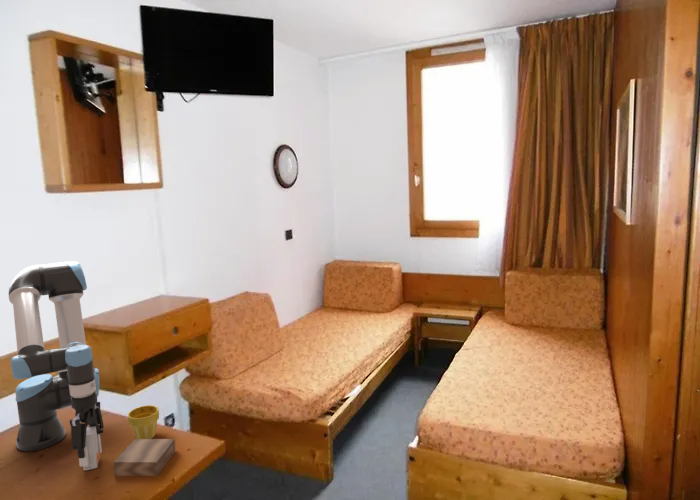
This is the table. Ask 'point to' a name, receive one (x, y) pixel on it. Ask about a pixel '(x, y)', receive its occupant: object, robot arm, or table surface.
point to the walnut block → (144, 457)
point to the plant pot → (144, 421)
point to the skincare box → (92, 448)
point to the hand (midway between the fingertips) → (91, 458)
